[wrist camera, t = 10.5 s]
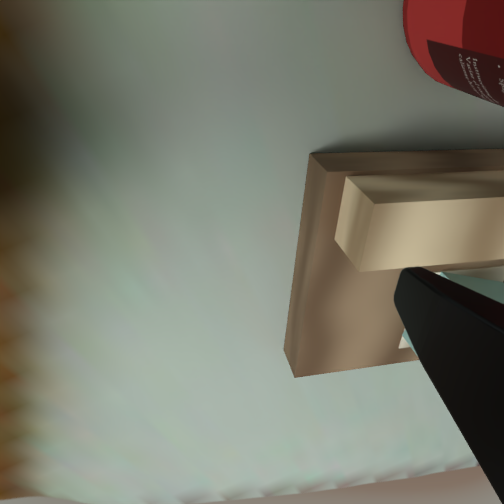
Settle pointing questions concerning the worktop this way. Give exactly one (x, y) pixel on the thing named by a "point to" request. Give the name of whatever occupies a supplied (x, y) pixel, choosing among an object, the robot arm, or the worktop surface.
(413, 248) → the beam
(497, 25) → the canned food
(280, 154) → the worktop surface
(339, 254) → the baseplate
